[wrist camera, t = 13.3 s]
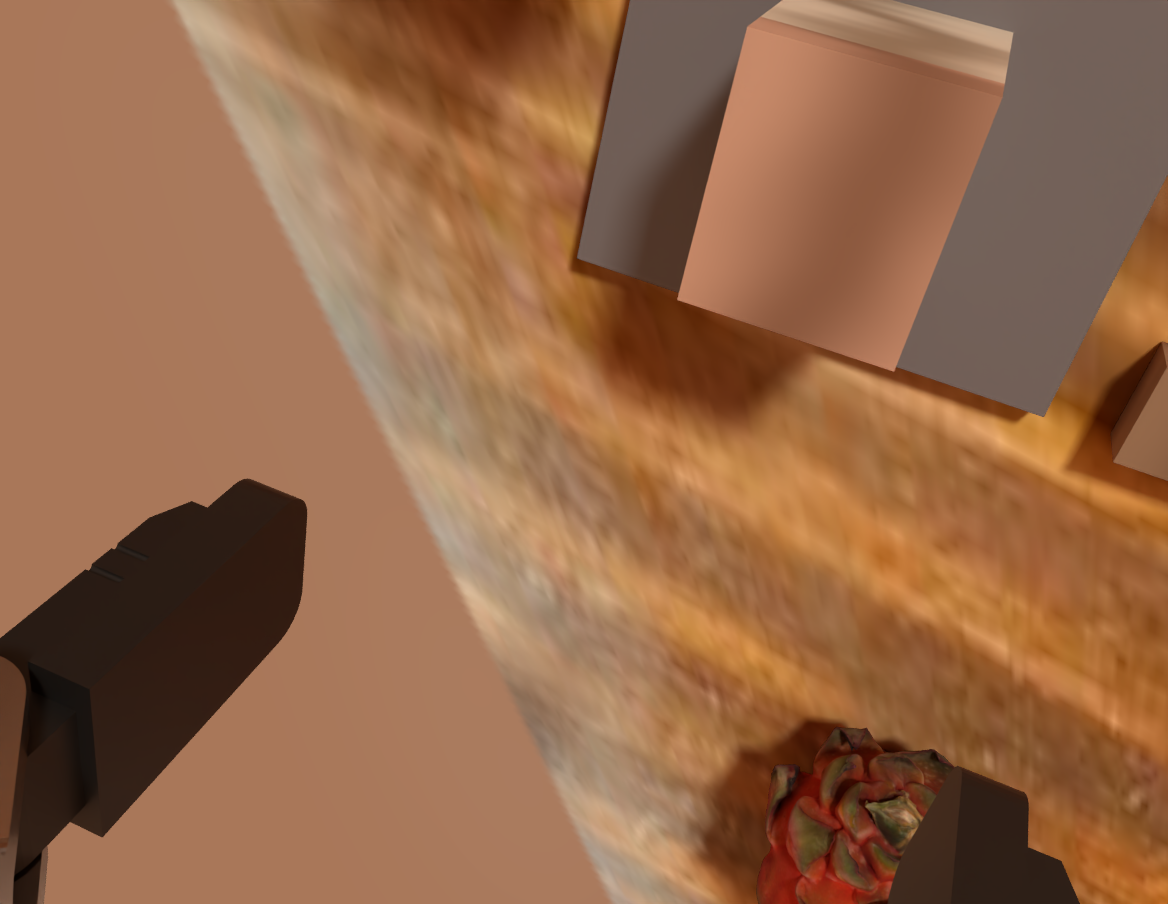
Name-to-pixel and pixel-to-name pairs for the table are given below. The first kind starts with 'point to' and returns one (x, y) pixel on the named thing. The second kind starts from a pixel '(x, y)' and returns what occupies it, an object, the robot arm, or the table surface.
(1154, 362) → the block
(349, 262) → the table surface
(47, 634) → the robot arm
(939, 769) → the dragon fruit
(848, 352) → the pinkish tan block
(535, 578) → the table surface
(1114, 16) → the charcoal mat
